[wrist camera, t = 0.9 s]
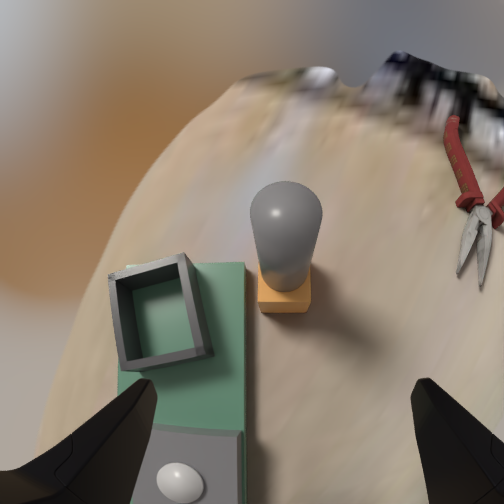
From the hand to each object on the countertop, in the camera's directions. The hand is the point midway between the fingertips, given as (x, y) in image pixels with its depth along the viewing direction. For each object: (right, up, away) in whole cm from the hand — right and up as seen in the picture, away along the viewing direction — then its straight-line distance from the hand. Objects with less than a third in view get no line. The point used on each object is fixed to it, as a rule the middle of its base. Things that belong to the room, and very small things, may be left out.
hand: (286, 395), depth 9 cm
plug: (+1, +2, +16) cm, 16 cm away
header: (-8, -1, +14) cm, 16 cm away
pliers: (+22, +12, +18) cm, 31 cm away
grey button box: (-6, -12, +9) cm, 16 cm away
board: (-7, -7, +13) cm, 16 cm away
